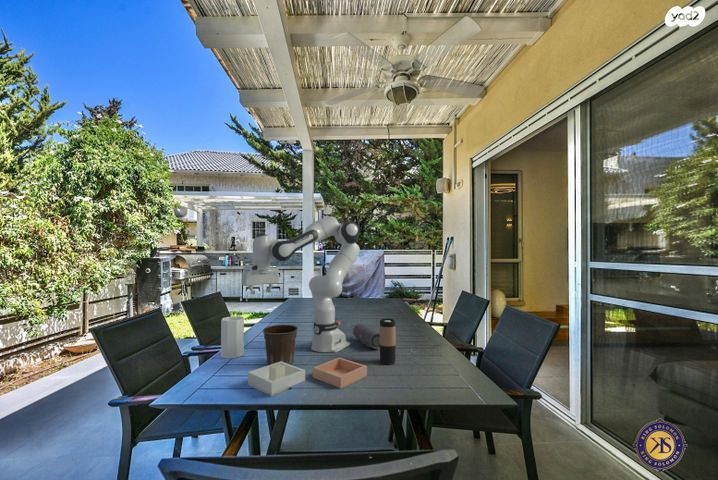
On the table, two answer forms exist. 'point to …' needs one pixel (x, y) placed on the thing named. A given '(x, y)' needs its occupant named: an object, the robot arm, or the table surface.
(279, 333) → the plant pot
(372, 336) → the bluetooth speaker
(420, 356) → the table surface
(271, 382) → the light grey bin
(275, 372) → the sandstone block
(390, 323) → the travel mug
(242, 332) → the cup
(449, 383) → the table surface
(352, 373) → the terracotta bin
